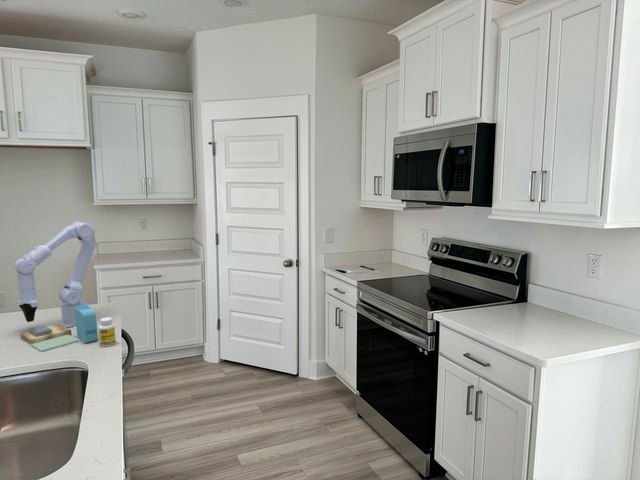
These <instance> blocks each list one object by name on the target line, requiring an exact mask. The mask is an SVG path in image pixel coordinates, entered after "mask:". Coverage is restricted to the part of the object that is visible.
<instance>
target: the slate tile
mask: <svg viewBox="0 0 640 480" xmlns="http://www.w3.org/2000/svg"><path fill="white" fill-rule="evenodd" d="M27 331H28V333H30V334H32V335H33V336H35V337H39V336H43V335H46V334H50V333H52V329H50V328H48V326H46V325H44V324H43V325H40V326H35V327H30V328H28V329H27Z"/></svg>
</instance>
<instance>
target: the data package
mask: <svg viewBox="0 0 640 480" xmlns="http://www.w3.org/2000/svg"><path fill="white" fill-rule="evenodd" d="M75 318H76V325H75V326H76V335H77V337H78V338H79V340H81V342H83V343H84V344H86V343H91V342H95V341H99V340H98V339H99V333H98V325H97V314H96V311H95V309H93V308H92V307H90V306H89V305H88V304H87V306H81V307H76V308H75Z"/></svg>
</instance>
